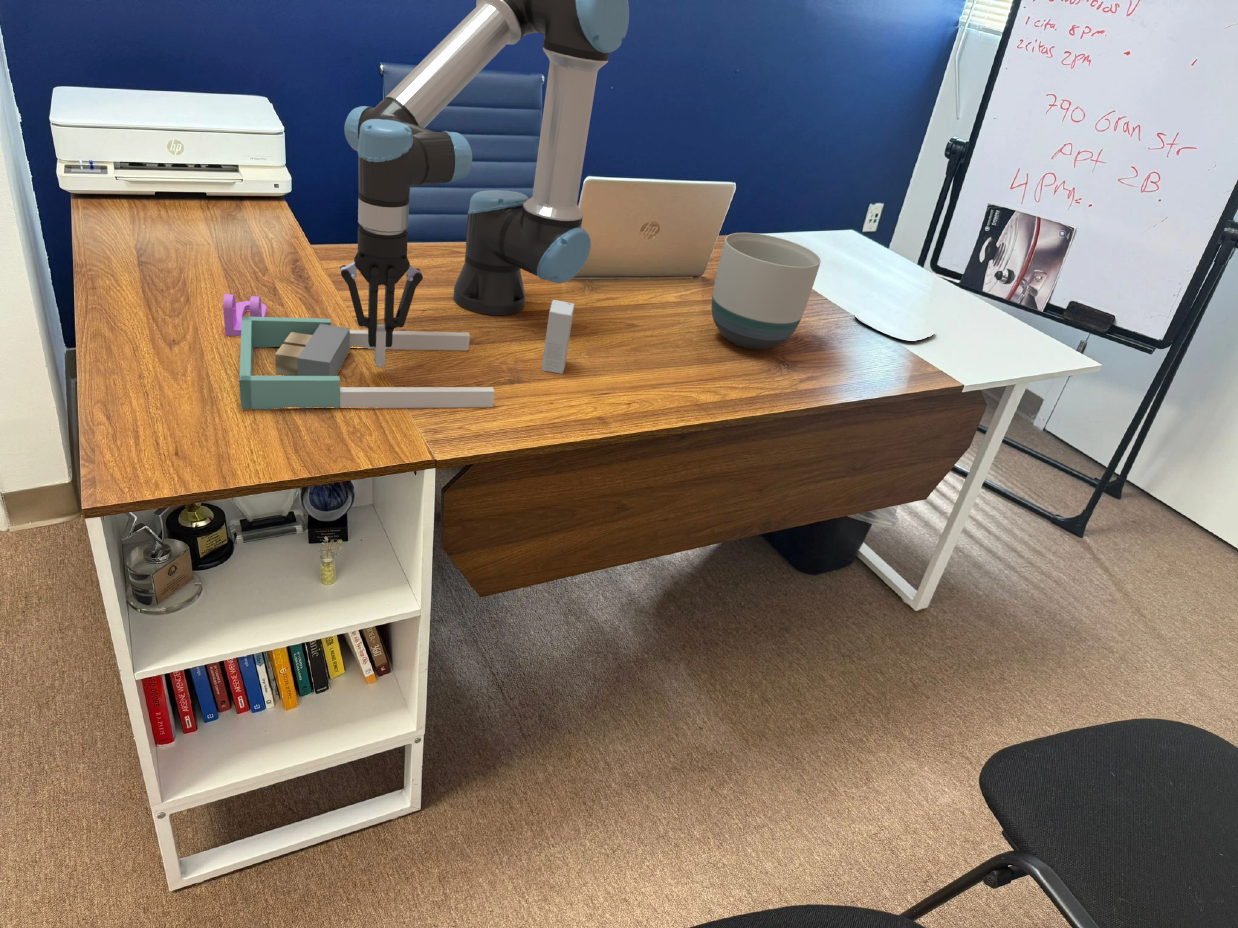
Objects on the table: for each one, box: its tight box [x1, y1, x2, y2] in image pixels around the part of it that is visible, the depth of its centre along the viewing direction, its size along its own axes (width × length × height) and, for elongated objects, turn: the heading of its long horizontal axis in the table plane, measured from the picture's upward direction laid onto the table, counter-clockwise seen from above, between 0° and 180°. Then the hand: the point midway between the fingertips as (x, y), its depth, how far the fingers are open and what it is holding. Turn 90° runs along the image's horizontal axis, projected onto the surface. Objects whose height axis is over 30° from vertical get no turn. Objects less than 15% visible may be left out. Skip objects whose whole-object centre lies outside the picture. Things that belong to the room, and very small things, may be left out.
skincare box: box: [541, 299, 575, 375], centre depth 156 cm, size 6×4×12 cm
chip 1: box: [284, 332, 312, 347], centre depth 143 cm, size 4×4×4 cm
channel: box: [340, 329, 496, 409], centre depth 146 cm, size 24×23×3 cm
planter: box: [711, 232, 822, 351], centre depth 181 cm, size 20×20×21 cm
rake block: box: [297, 324, 351, 376], centre depth 142 cm, size 5×14×5 cm, turn 3°
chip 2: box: [274, 344, 304, 376], centre depth 139 cm, size 4×4×4 cm
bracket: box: [222, 293, 268, 337], centre depth 151 cm, size 13×6×7 cm, turn 13°
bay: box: [238, 315, 341, 411], centre depth 138 cm, size 14×23×5 cm, turn 20°
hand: (379, 363), depth 143 cm, fingers closed
